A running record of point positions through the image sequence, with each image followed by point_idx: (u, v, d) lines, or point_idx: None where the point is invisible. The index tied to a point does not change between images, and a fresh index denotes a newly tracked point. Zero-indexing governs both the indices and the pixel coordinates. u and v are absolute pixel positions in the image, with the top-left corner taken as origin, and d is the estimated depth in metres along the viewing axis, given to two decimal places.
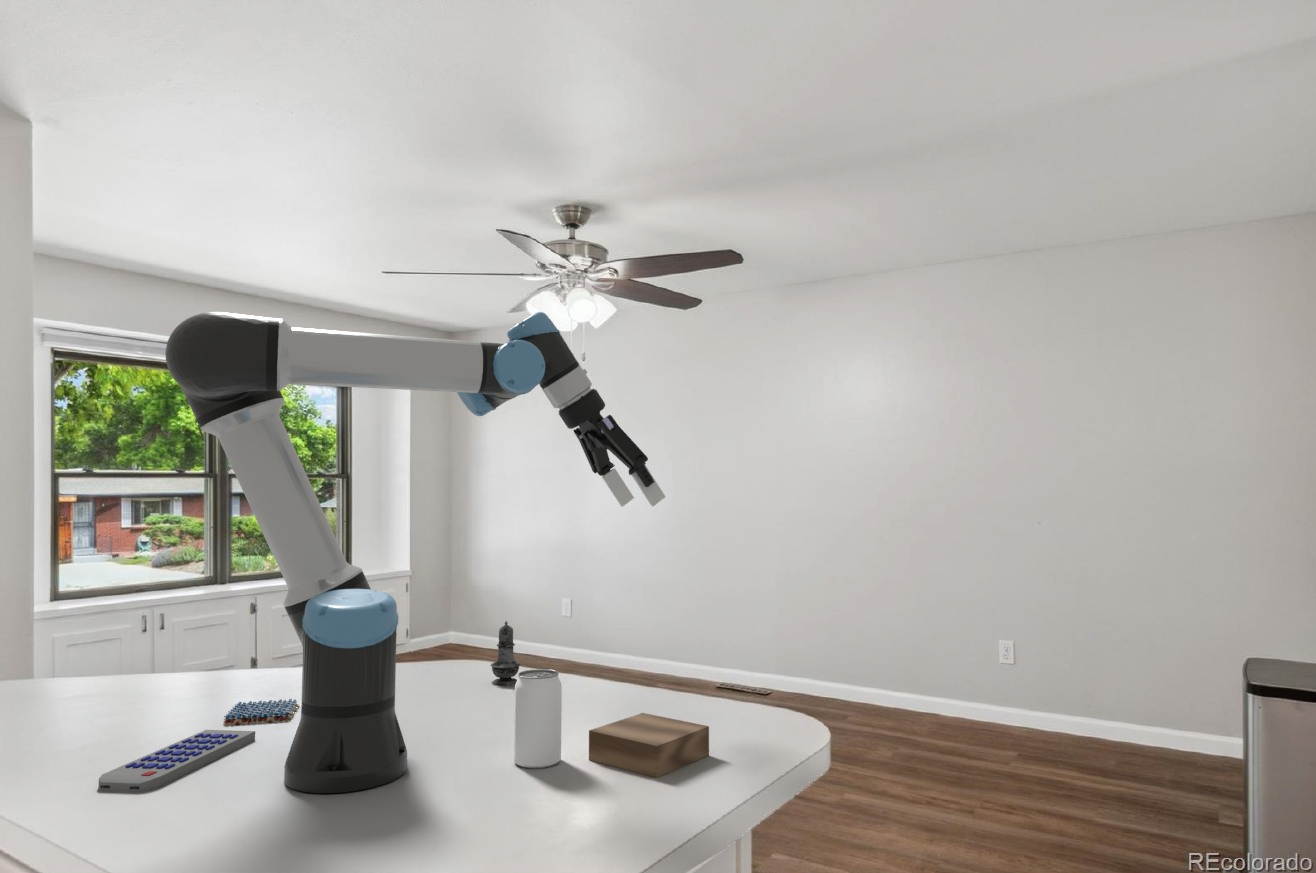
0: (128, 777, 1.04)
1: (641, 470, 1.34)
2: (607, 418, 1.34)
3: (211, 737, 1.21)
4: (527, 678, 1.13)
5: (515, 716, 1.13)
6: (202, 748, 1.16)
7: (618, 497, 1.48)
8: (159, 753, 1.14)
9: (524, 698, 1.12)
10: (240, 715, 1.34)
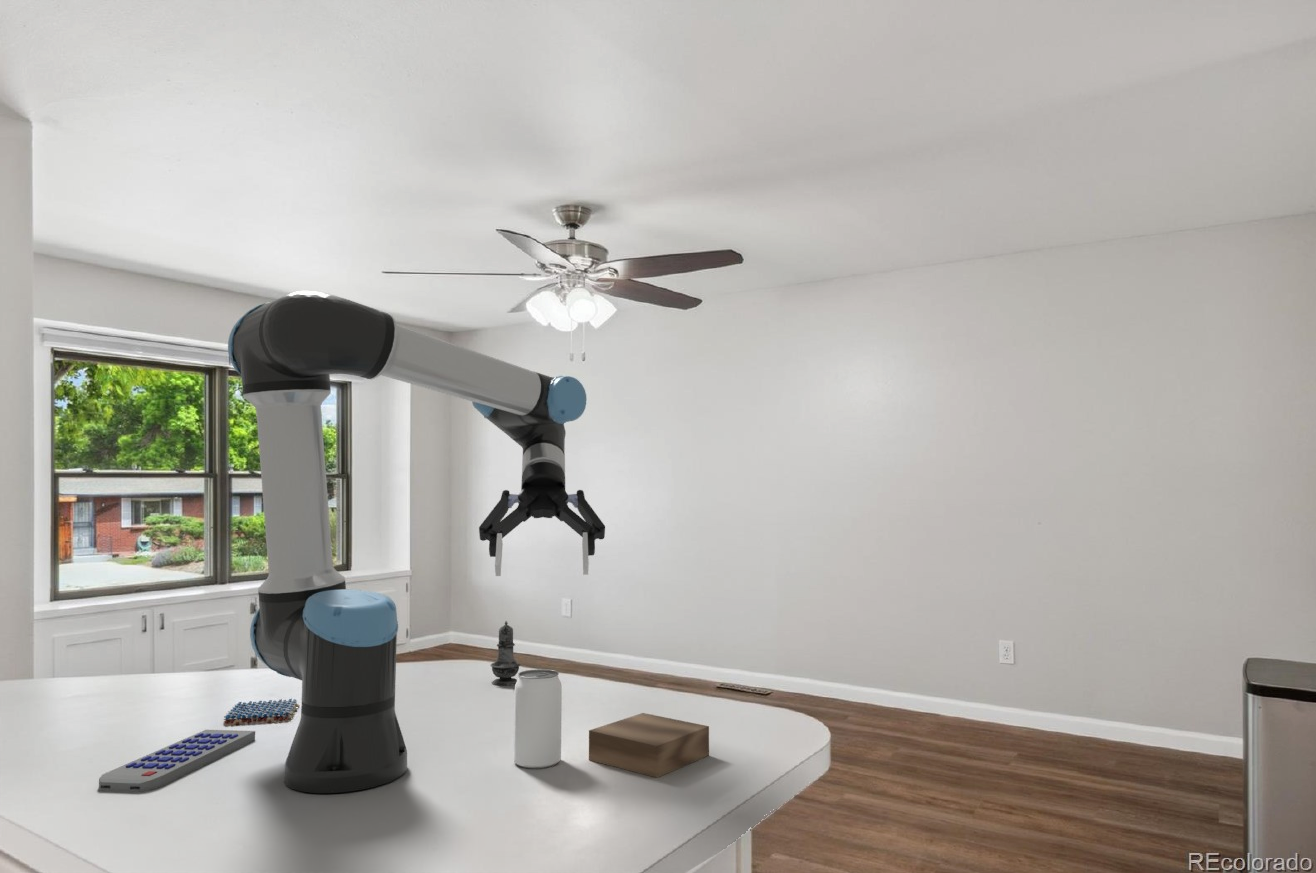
0: (129, 777, 1.04)
1: None
2: None
3: (211, 737, 1.21)
4: (527, 678, 1.13)
5: (515, 716, 1.13)
6: (202, 748, 1.16)
7: (500, 556, 1.29)
8: (159, 753, 1.14)
9: (524, 698, 1.12)
10: (240, 715, 1.34)
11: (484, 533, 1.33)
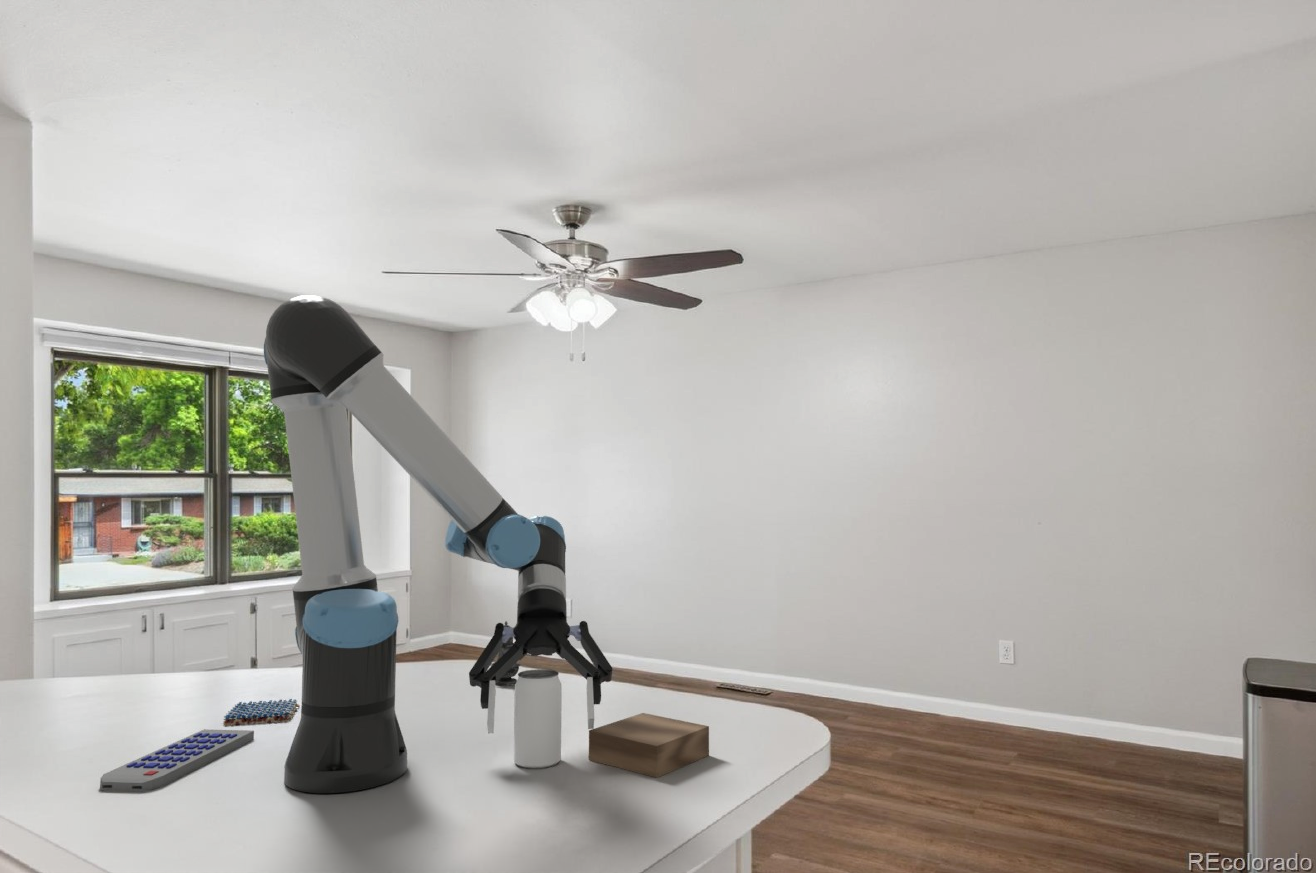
0: (130, 776, 1.05)
1: None
2: None
3: (210, 737, 1.21)
4: (527, 678, 1.13)
5: (515, 716, 1.13)
6: (202, 748, 1.16)
7: (493, 711, 1.13)
8: (159, 753, 1.14)
9: (524, 698, 1.12)
10: (240, 715, 1.34)
11: (475, 679, 1.17)
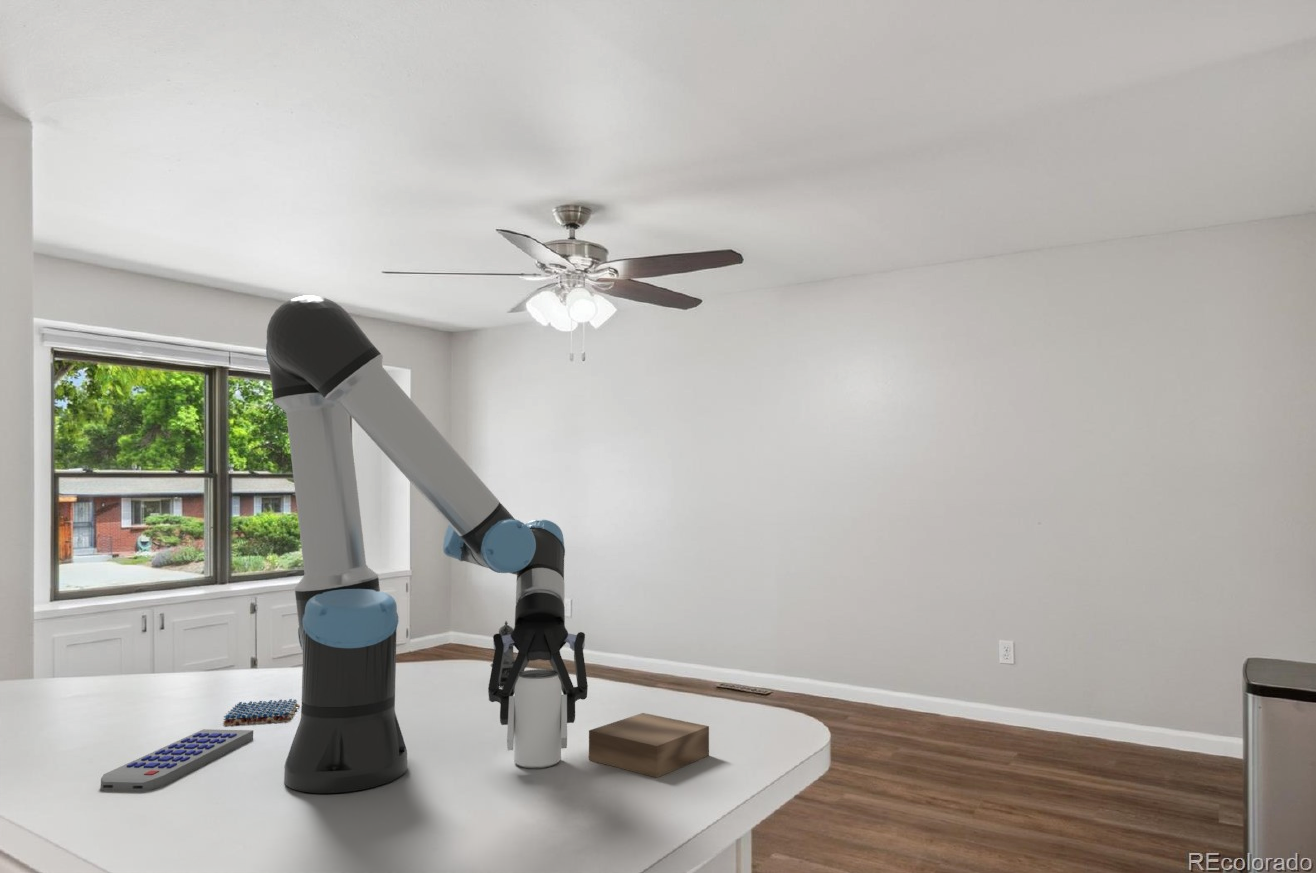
0: (131, 776, 1.05)
1: (575, 700, 1.16)
2: (584, 640, 1.25)
3: (210, 736, 1.22)
4: (527, 678, 1.13)
5: (515, 716, 1.13)
6: (202, 747, 1.16)
7: (513, 728, 1.11)
8: (159, 753, 1.14)
9: (524, 697, 1.12)
10: (240, 715, 1.34)
11: (496, 694, 1.16)
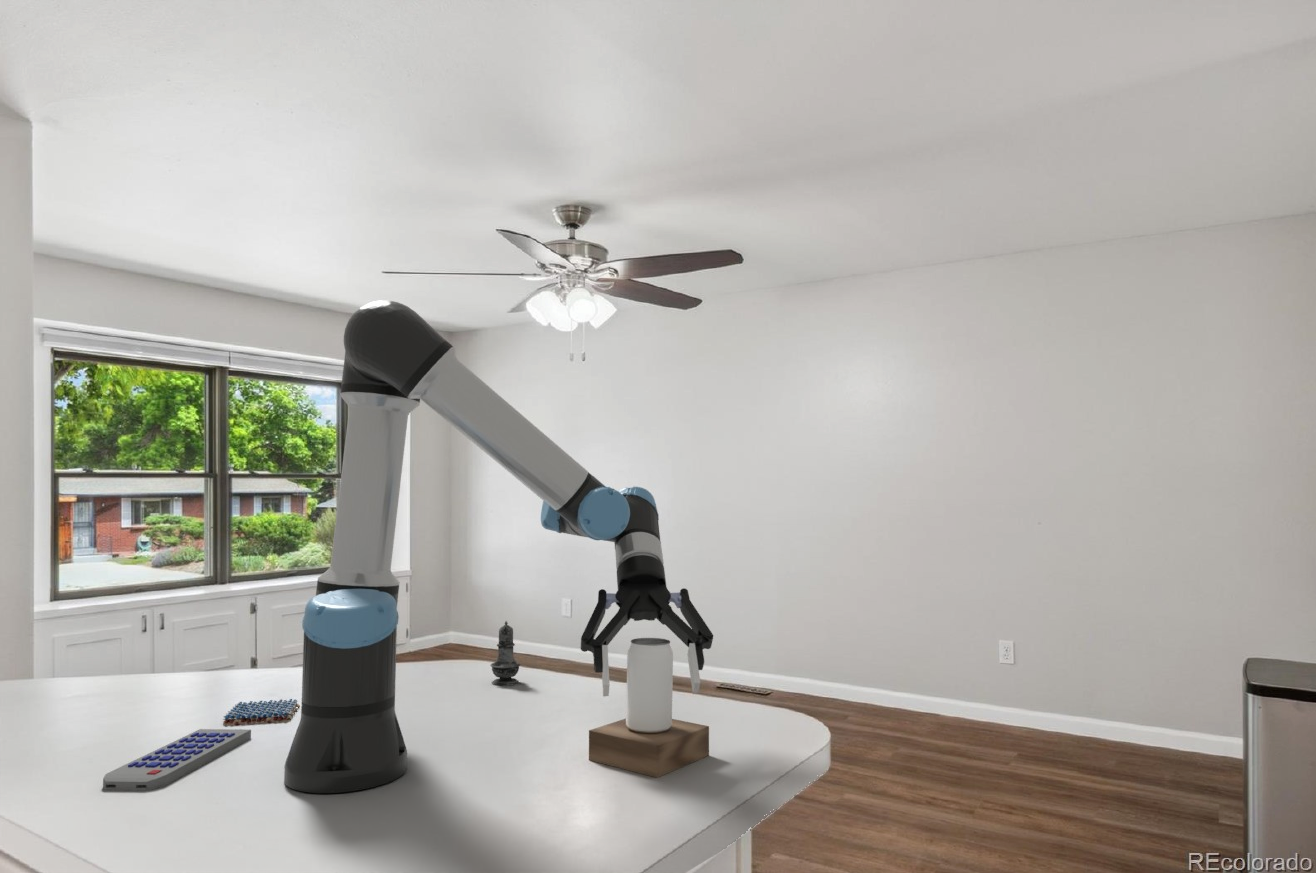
0: (134, 776, 1.05)
1: (701, 649, 1.20)
2: None
3: (208, 736, 1.22)
4: (642, 644, 1.15)
5: (629, 682, 1.16)
6: (202, 747, 1.16)
7: (608, 674, 1.15)
8: (159, 752, 1.14)
9: (639, 663, 1.15)
10: (240, 715, 1.34)
11: (587, 644, 1.19)
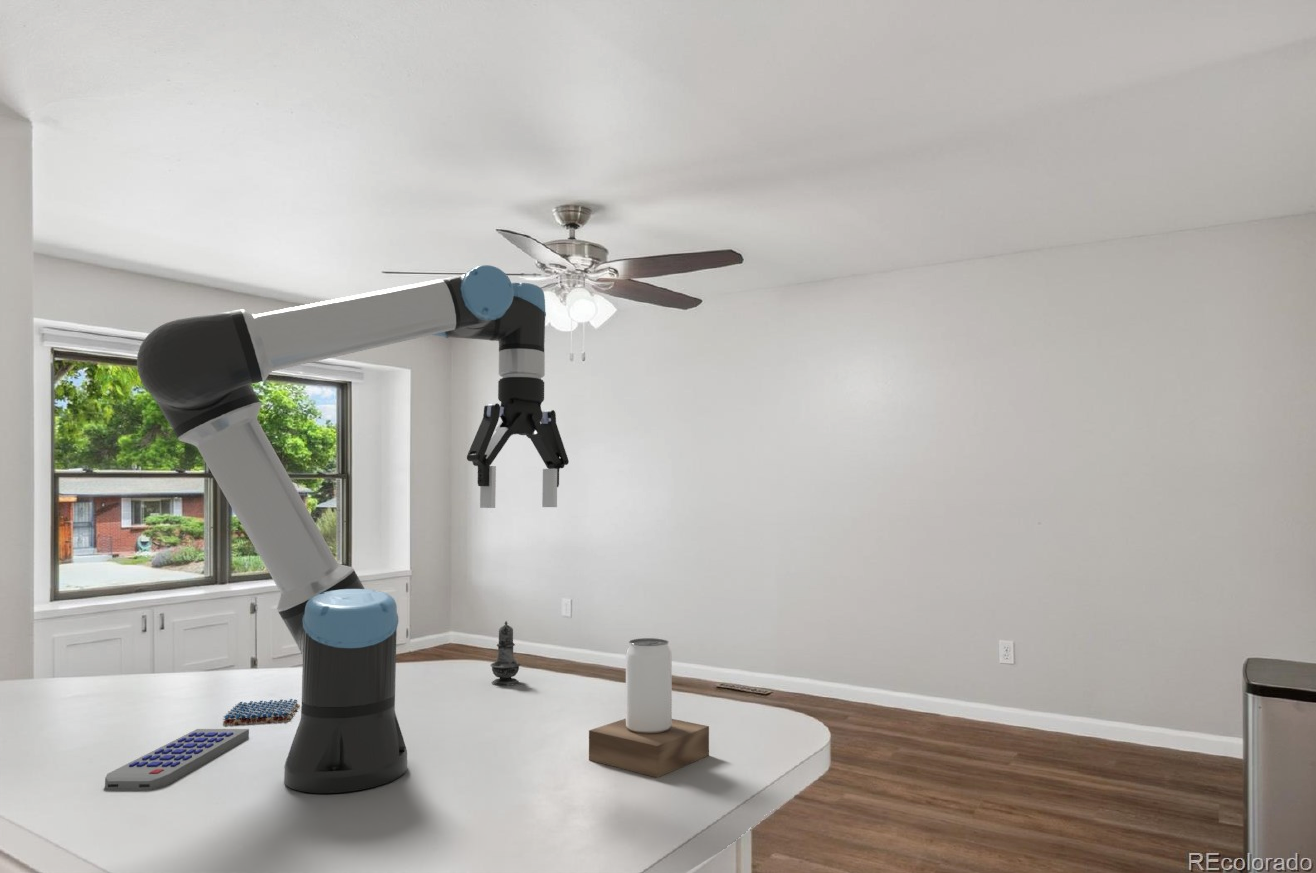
0: (136, 775, 1.05)
1: (557, 470, 1.42)
2: None
3: (206, 736, 1.22)
4: (640, 645, 1.15)
5: (628, 683, 1.16)
6: (201, 746, 1.17)
7: None
8: (158, 752, 1.14)
9: (638, 664, 1.15)
10: (239, 715, 1.34)
11: (478, 461, 1.28)
